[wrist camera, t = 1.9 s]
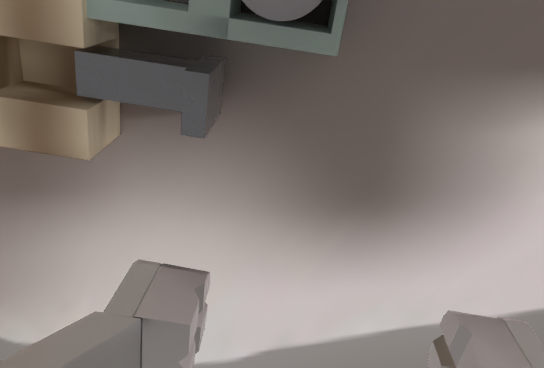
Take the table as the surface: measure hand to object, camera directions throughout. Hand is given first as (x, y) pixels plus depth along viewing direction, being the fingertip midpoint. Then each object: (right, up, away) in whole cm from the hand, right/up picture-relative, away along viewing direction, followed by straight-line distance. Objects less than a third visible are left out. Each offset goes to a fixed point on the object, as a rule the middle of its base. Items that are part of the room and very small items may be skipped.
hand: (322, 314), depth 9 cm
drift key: (-8, +9, +16) cm, 20 cm away
